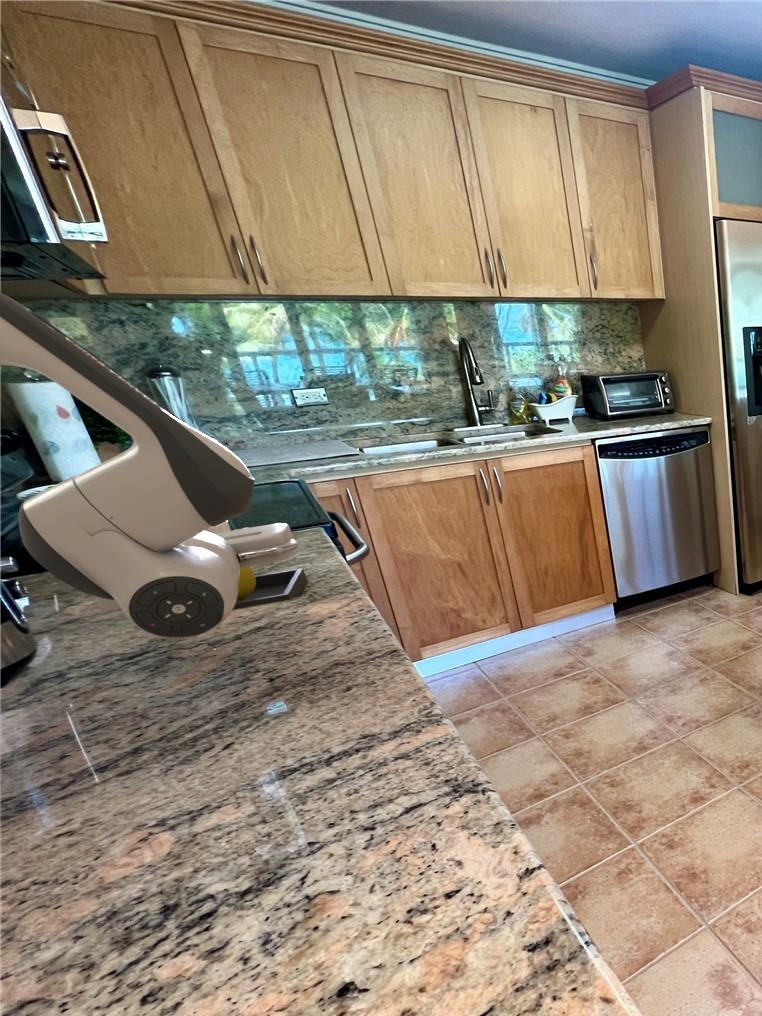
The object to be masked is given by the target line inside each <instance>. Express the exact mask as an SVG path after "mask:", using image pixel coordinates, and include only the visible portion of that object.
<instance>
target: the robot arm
mask: <svg viewBox="0 0 762 1016" xmlns="http://www.w3.org/2000/svg"><path fill="white" fill-rule="evenodd" d="M0 366H5V367H6V366H7V367H18V368H22V369H27V370H31V371H34V372H36V373H39V374H41V375H43V376H45V377H46V378H47V379H50V380H51V381H52V382H54V383H56V384H57V385H58V386H59V387H61V388H62V389H64V390H65V391H67V392H68V393H70V394H71V395H72V396H73V397H75V398H77V400H79V401H81V402H83V404H86V406H88V407H90V408H91V409H93V410H94V411H95V412H96V413H98V414H100V415H101V416H102V417H104V418H105V419H107V420H109V421H110V422H111V423H112V424H114V425H115V426H117V427H118V428H120V429H121V430H122V431H124V432H126V434H128V435H129V436H130V437H131V438H132V440H133V443H132V445H131V446H130V447H129V448H127V449H126V450H124V451H123V452H120V453H119V454H117V455H115V456H113V457H111V458H109V459H107V460H105V461H103V462H101V463H99V464H97V465H95V466H93V467H91V468H89V469H87V470H85V471H83V472H81V473H80V474H78V475H74V476H71V477H69V478H68V479H66V480H63V481H61V482H59V483H57V484H55V485H53V486H52V487H49V488H48V489H45V490H43V491H42V492H40V493H38V494H36V495H34V496H33V497H30V498H28V499H26V500H24V501H22V502H21V505H20V507H19V510H18V516H17V517H18V528H19V533H20V538H21V541H22V543H23V546H24V548H25V549H26V551H27V552H28V553H29V554H30V556H31V557H32V558H33V560H35V561H36V562H37V563H38V564H39V565H41V567H43V568H44V569H45V570H46V571H48V572H49V573H50V574H52V576H54V577H55V578H57V579H59V580H60V581H61V582H63V583H65V584H67V585H68V586H70V587H71V588H73V589H75V590H78V591H79V592H81V593H83V594H85V595H86V594H87V595H89V596H93V597H94V598H95V600H96V602H97V603H98V604H99V606H100V607H101V608H102V609H103V610H105V611H117V610H121V611H122V613H123V614H124V616H125V617H126V618H127V620H128V621H129V622H130V623H131V624H132V625H134V626H135V627H136V628H138V629H139V630H140V631H143V632H144V633H147V634H149V635H152V636H155V637H159V638H165V639H187V638H194V637H198V636H201V635H204V634H206V633H209V632H211V631H213V630H215V629H216V628H217V627H219V626H220V625H222V623H224V622H225V621H226V620H227V618H228V617H229V616H230V614H231V612H233V610H234V609H233V608H234V606H235V603H236V600H237V596H238V588H239V586H238V583H239V578H240V569H242V568H247V567H250V568H252V567H257V566H262V565H263V566H264V565H269V564H274V563H278V562H281V561H284V560H288V559H289V558H290V557H292V556H293V554H294V553H295V551H296V550H297V549H298V542H297V541H296V540H295V538H294V535H293V533H292V530H291V528H290V525H289V524H287V523H284V522H283V523H281V522H277V523H270V524H265V525H259V526H252V527H248V526H247V527H240V528H235V529H234V530H233V529H232V530H231V531H226V532H220V533H214V534H213V533H210V532H206V531H205V530H206V529H208V528H210V527H212V526H213V527H215V526H217V525H219V524H221V523H224V522H226V521H228V522H229V521H230V520H233V519H234V518H236V517H239V516H241V515H244V514H245V513H248V510H249V508H250V505H251V503H252V500H253V498H254V497H253V496H254V493H255V492H254V491H255V478H254V476H252V474H251V472H250V470H249V469H248V468H247V466H246V464H244V462H243V461H242V460H241V459H240V458H239V457H238V456H237V455H236V454H235V453H233V452H232V451H231V450H230V449H229V448H227V447H226V446H224V445H223V444H221V443H220V442H218V440H216V439H214V438H212V437H211V436H208V435H206V434H204V433H203V432H201V431H199V430H198V429H195V428H194V427H192V426H191V425H189V424H188V423H187V422H186V421H184V420H182V419H181V418H180V417H178V416H177V415H176V414H174V413H173V412H171V411H170V410H168V409H167V408H166V407H165V406H163V405H162V404H161V403H159V402H158V401H157V400H155V399H154V398H153V397H151V396H150V395H148V394H147V393H146V392H145V391H143V390H141V388H139V387H138V386H136V385H135V384H134V383H133V382H131V381H130V380H129V379H127V378H126V377H124V376H123V375H122V374H120V373H119V372H117V371H116V370H115V369H113V368H112V367H111V366H110V365H108V364H107V363H106V362H104V361H103V360H101V359H100V358H98V357H97V356H96V355H95V354H94V353H92V352H91V351H89V350H88V349H86V348H85V347H84V346H82V345H81V344H79V343H78V342H76V341H75V340H74V339H73V338H71V337H70V336H68V335H67V334H66V333H64V332H63V331H61V330H60V329H58V328H57V327H56V326H55V325H53V324H52V323H50V322H48V320H46V319H45V318H43V317H42V316H40V315H39V314H37V313H36V312H34V311H33V310H31V309H30V308H28V307H26V306H25V305H23V304H22V303H20V302H19V301H17V300H15V299H13V298H11V297H10V296H9V295H6V294H4V293H3V292H0ZM232 609H233V610H232Z"/></svg>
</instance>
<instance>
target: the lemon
mask: <svg viewBox="0 0 762 1016" xmlns="http://www.w3.org/2000/svg"><path fill="white" fill-rule="evenodd" d="M255 576H256V575H255V573H254V571H253V569H252V567H247V568H242V569H240V578H239V583H238V586H239V588H238V596H237V600H236V602H239V601H244V600H245V598H246V597H247V596H249V595H250V594H251V593H252V592H253V591H254V589H255V585H256V579H255Z"/></svg>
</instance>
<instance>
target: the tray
mask: <svg viewBox="0 0 762 1016" xmlns="http://www.w3.org/2000/svg"><path fill="white" fill-rule="evenodd" d="M255 579H256V585H255V589H254V591H253V592H252V593H251V594H250V595H249V596H247V597H246V598H245V600H244V601H239V602H236V603H235V606H234V608H233V609H232V611H233V610H237V609H243V608H249V607H256V606H260V605H267V604H273V603H279V602H284V601H289V600H291V599H295V598H300V597H301V595H302V594H303V592H304V590H305V588H306V586H307V584H308V578H307V576H306V573H305V570H304V567H300V568H294V569H289V570H282V571H275V572H270V573H264V574H256V575H255Z"/></svg>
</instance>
